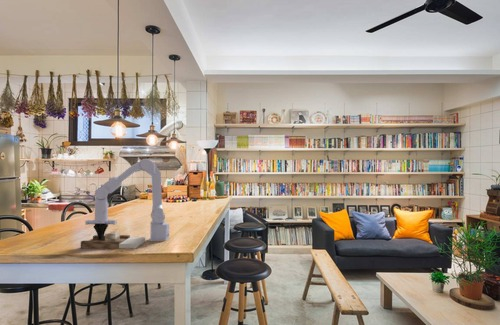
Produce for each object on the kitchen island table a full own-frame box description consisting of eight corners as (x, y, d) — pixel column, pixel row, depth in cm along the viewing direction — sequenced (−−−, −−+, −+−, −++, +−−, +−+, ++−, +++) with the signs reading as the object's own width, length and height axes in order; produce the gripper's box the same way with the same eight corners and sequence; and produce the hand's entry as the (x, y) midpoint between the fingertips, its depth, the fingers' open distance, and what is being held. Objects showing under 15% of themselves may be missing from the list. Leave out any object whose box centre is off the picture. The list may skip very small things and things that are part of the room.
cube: (119, 239, 144) (119, 231, 144) (115, 241, 139) (115, 233, 139) (109, 239, 143) (109, 231, 144) (105, 241, 138) (105, 233, 139)
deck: (145, 241, 148) (145, 235, 148) (135, 248, 135) (135, 241, 135) (94, 241, 147) (95, 235, 147) (80, 248, 134) (80, 241, 134)
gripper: (81, 212, 137) (81, 241, 137) (112, 212, 137) (111, 240, 137) (89, 210, 144) (89, 237, 144) (118, 210, 144) (118, 237, 144)
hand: (100, 238), depth 141 cm, fingers closed
